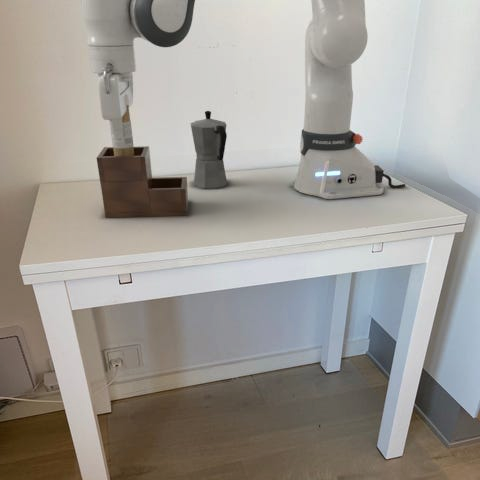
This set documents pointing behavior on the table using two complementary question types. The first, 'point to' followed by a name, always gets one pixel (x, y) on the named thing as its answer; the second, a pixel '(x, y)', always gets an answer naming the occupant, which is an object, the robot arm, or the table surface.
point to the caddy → (138, 187)
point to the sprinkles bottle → (126, 143)
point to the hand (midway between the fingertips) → (121, 135)
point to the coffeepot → (209, 152)
